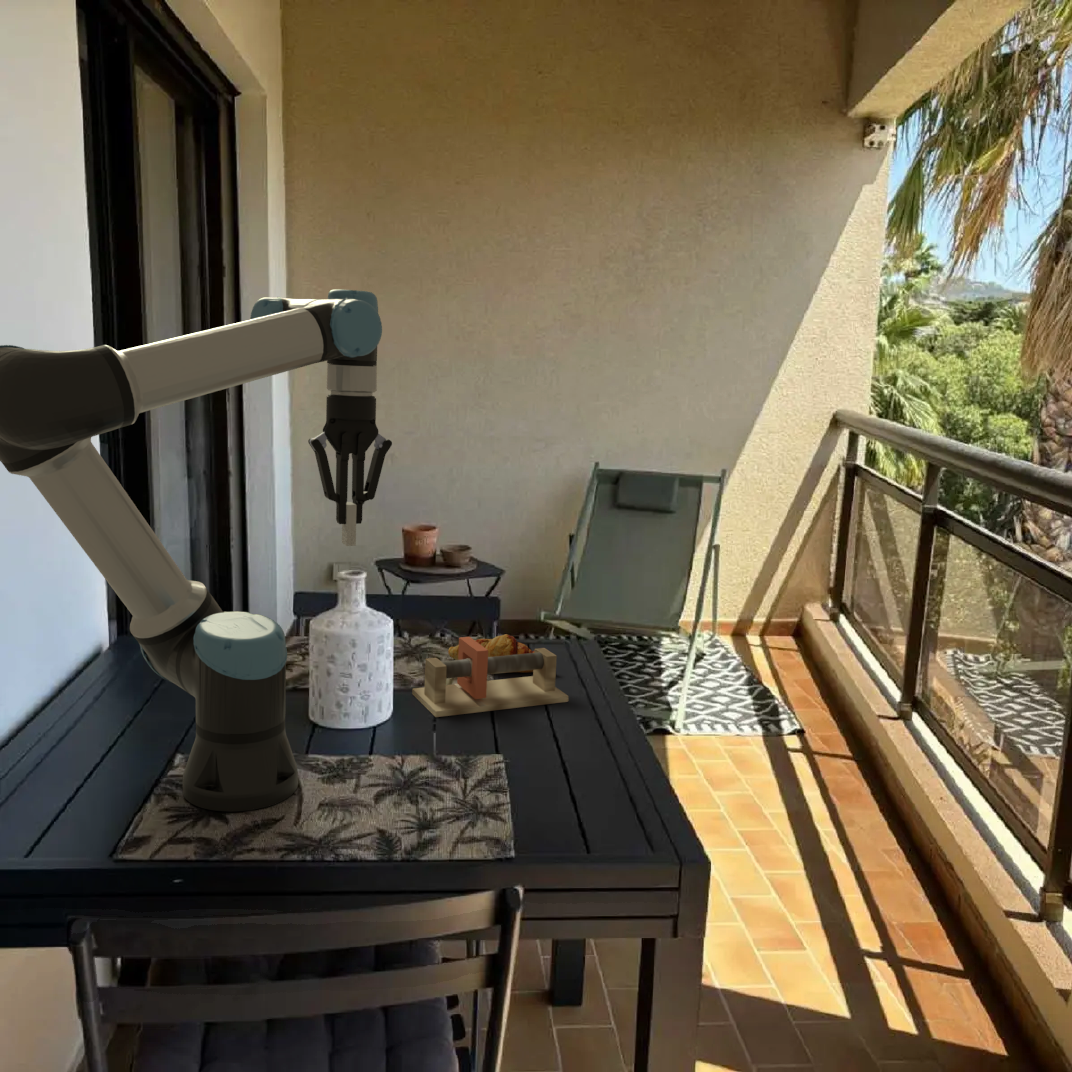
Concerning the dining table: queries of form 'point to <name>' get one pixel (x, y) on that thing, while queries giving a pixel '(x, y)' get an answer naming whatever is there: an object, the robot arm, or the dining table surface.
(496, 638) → the croissant
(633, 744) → the dining table surface
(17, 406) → the robot arm
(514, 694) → the pipe jig
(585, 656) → the dining table surface
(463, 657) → the ring
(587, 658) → the dining table surface
